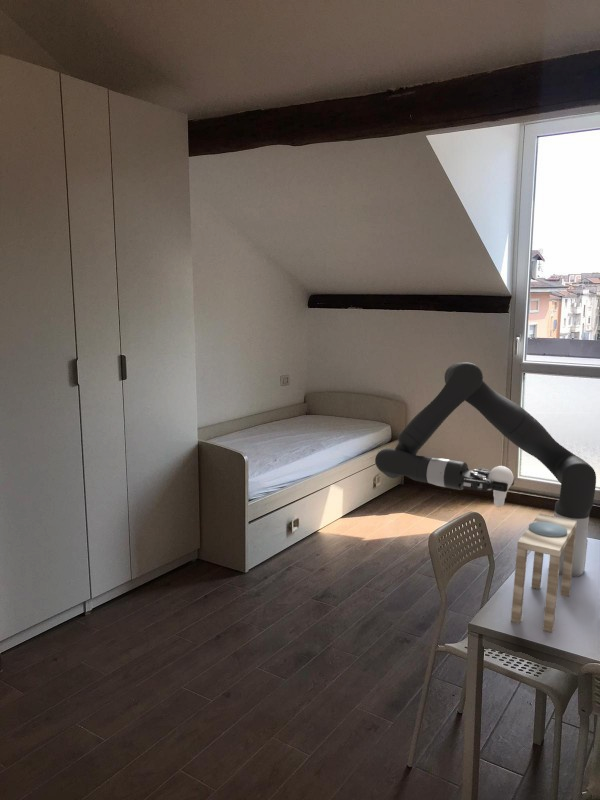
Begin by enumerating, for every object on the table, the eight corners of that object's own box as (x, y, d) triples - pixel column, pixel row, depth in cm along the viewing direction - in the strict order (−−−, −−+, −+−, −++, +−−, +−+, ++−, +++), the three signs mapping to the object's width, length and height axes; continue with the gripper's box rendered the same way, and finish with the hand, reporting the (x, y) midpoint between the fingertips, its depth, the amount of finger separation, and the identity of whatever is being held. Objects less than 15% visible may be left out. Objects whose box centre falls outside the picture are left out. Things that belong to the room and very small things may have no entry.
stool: (533, 584, 178) (539, 511, 175) (569, 593, 173) (577, 518, 170) (510, 621, 158) (517, 539, 155) (551, 632, 153) (559, 548, 150)
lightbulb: (482, 506, 168) (485, 466, 166) (493, 501, 172) (496, 461, 170) (504, 513, 164) (508, 471, 162) (514, 507, 168) (518, 466, 166)
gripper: (438, 465, 168) (504, 477, 159) (456, 454, 180) (518, 464, 171) (436, 493, 169) (502, 506, 160) (455, 480, 181) (516, 491, 172)
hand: (510, 484), depth 166 cm, fingers closed on lightbulb, 5 cm apart
